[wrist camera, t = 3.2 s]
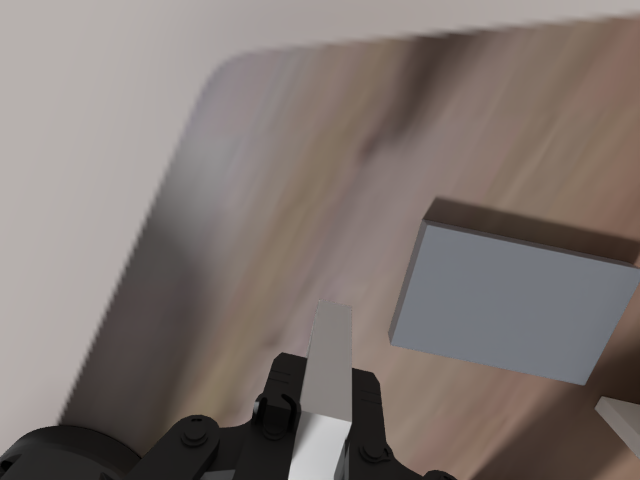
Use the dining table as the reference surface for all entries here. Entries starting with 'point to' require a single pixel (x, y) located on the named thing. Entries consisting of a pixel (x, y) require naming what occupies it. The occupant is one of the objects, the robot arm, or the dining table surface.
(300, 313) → the dining table surface
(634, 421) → the overhang
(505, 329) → the tile
